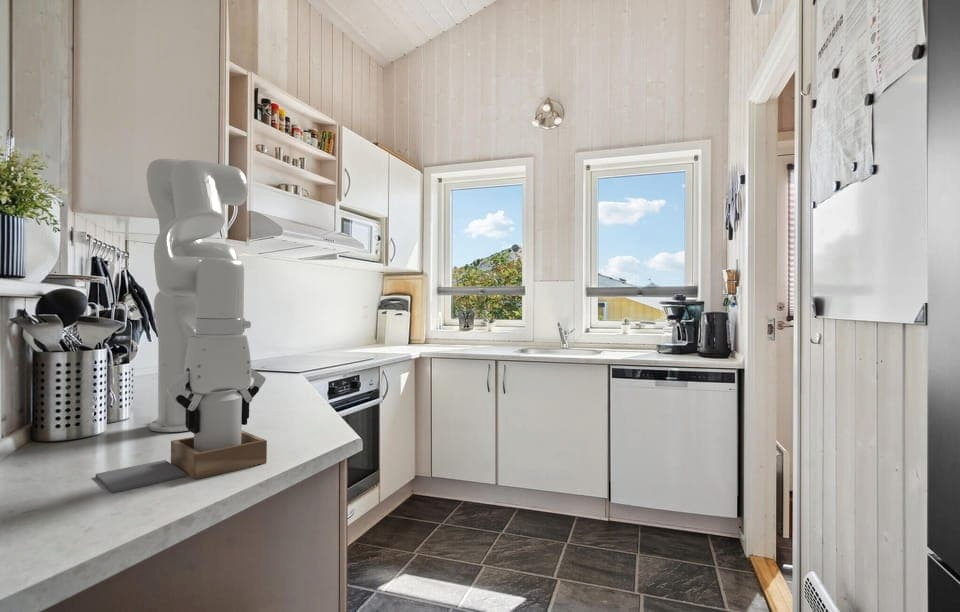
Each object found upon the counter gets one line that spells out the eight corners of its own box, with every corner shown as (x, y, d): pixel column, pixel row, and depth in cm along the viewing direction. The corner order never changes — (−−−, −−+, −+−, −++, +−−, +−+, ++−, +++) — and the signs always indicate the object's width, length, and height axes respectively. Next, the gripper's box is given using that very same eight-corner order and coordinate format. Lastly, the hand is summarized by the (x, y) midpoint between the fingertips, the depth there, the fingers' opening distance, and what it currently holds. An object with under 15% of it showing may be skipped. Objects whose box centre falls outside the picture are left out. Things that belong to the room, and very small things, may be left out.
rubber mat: (95, 476, 82) (95, 473, 82) (165, 462, 89) (165, 459, 89) (112, 493, 75) (112, 489, 75) (186, 476, 83) (186, 473, 83)
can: (221, 463, 86) (222, 393, 85) (183, 459, 87) (184, 389, 87) (250, 450, 93) (251, 385, 93) (214, 446, 95) (215, 382, 94)
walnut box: (170, 463, 89) (170, 440, 89) (238, 449, 98) (238, 428, 98) (195, 479, 81) (196, 454, 81) (266, 462, 90) (266, 440, 90)
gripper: (258, 325, 99) (257, 415, 99) (156, 328, 85) (155, 432, 86) (277, 328, 94) (275, 423, 94) (172, 331, 81) (170, 442, 81)
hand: (218, 426), depth 90 cm, fingers closed on can, 7 cm apart
